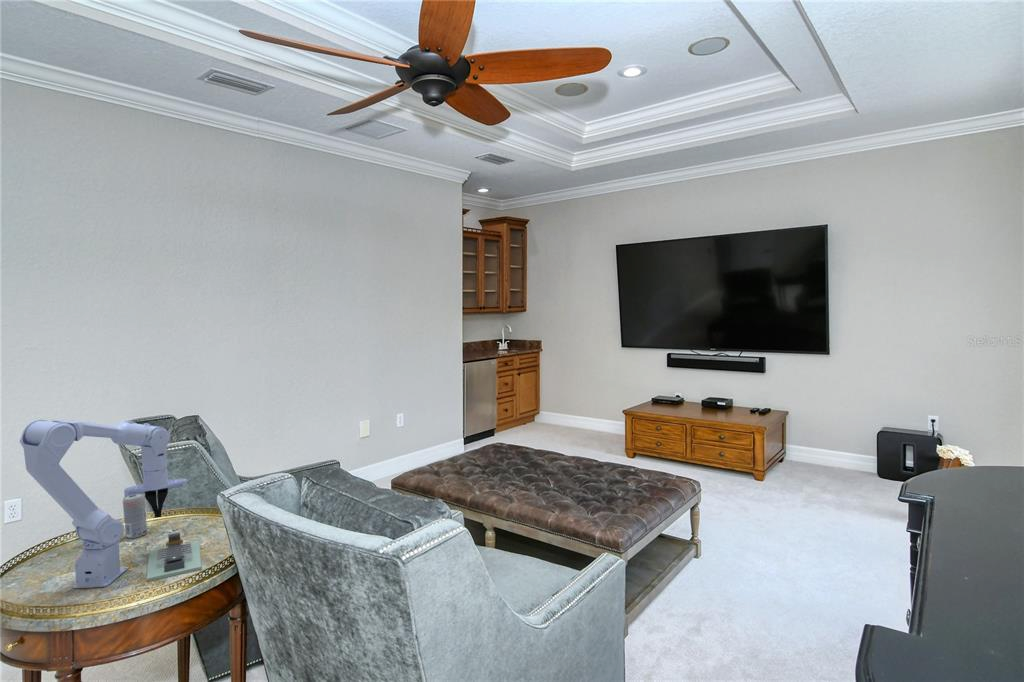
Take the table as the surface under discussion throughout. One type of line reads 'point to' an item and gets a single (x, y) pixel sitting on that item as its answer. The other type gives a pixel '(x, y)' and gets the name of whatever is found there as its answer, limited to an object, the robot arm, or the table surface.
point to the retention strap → (174, 550)
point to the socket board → (188, 565)
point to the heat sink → (185, 553)
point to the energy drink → (134, 515)
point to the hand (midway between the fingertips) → (158, 516)
